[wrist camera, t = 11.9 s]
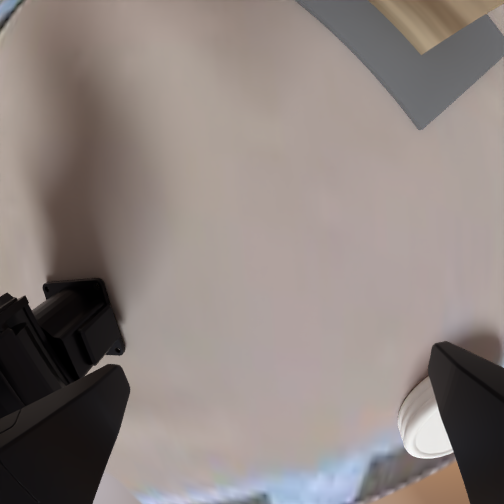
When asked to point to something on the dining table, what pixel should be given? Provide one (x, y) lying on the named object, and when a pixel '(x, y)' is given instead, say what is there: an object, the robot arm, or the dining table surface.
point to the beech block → (432, 18)
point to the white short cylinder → (423, 424)
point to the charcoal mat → (412, 55)
